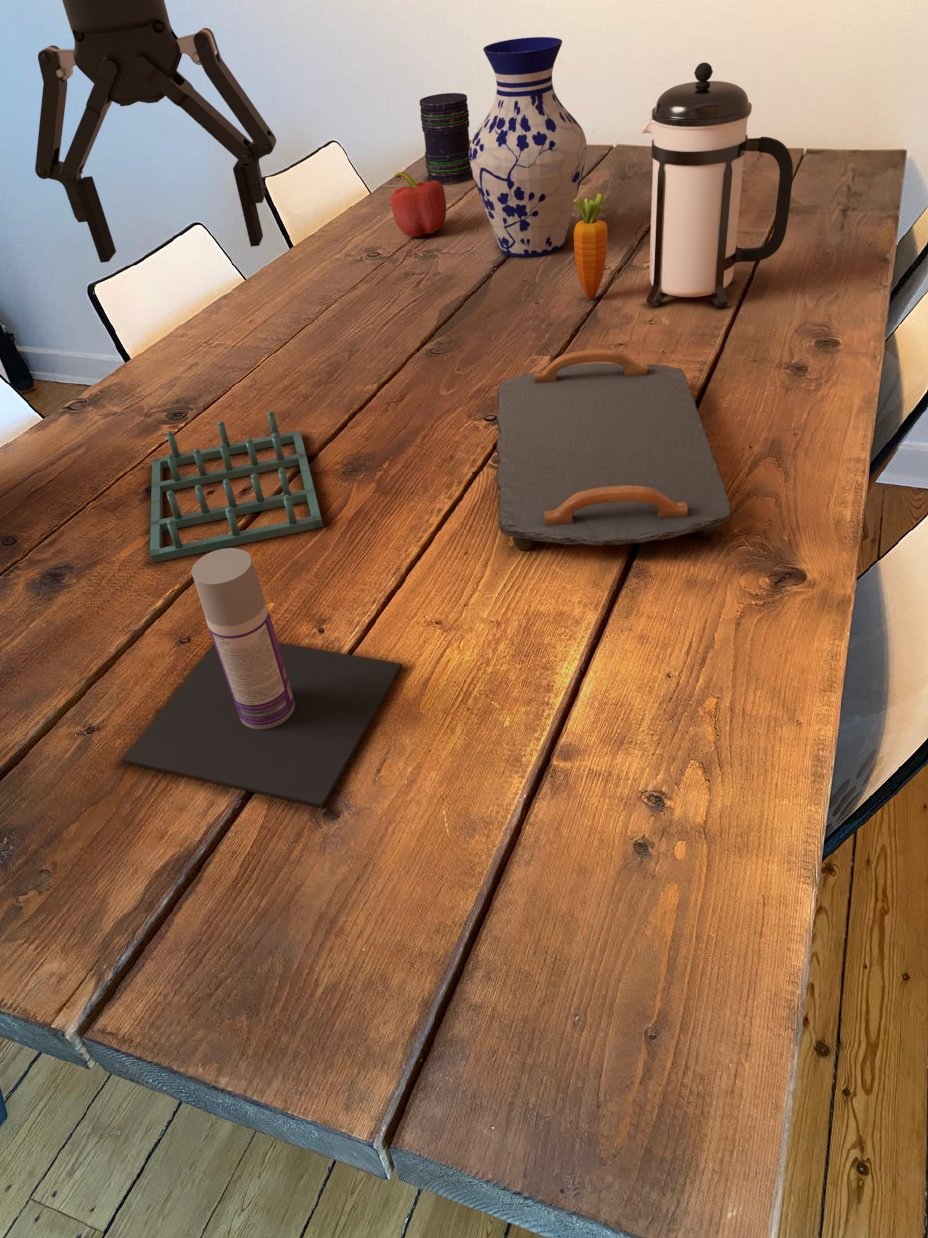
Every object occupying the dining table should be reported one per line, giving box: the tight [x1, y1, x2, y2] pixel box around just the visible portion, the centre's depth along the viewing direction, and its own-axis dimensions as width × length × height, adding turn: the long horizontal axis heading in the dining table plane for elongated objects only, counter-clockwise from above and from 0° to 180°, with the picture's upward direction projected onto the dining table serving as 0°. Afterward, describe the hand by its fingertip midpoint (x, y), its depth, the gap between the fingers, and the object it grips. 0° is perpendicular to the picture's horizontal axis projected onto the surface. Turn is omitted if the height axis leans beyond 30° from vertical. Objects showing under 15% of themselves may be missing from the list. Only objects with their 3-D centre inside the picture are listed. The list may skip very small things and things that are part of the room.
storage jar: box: [418, 92, 474, 185], centre depth 195 cm, size 10×10×15 cm
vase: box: [469, 36, 588, 258], centre depth 153 cm, size 19×19×30 cm
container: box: [191, 547, 295, 729], centre depth 74 cm, size 5×5×15 cm
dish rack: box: [149, 410, 324, 564], centre depth 106 cm, size 18×21×4 cm
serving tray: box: [495, 348, 733, 552], centre depth 104 cm, size 39×23×6 cm, turn 179°
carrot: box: [573, 192, 608, 301], centre depth 137 cm, size 5×5×15 cm
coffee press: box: [640, 62, 794, 309], centre depth 130 cm, size 17×16×30 cm
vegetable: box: [390, 171, 447, 238], centre depth 170 cm, size 11×10×10 cm
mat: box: [122, 642, 403, 809], centre depth 79 cm, size 18×16×1 cm
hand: (182, 249), depth 85 cm, fingers open, 13 cm apart
